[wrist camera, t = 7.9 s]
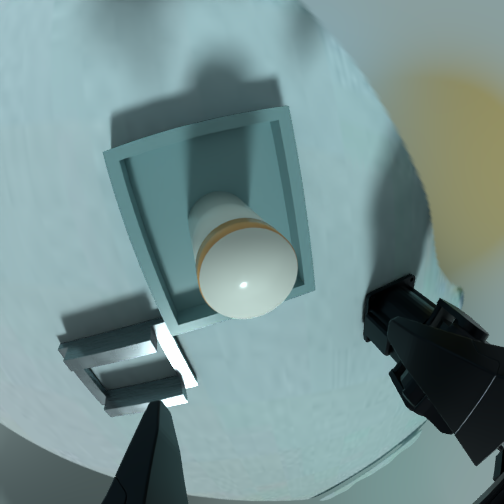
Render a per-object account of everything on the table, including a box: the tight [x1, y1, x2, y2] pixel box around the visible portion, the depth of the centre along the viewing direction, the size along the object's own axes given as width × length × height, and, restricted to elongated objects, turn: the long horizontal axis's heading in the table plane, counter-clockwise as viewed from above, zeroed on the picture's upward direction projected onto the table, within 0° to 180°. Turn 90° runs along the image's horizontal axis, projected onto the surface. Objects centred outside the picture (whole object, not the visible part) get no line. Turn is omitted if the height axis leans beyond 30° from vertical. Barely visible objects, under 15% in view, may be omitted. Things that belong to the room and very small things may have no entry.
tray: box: [103, 106, 315, 336], centre depth 18 cm, size 11×13×2 cm
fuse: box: [188, 191, 298, 319], centre depth 15 cm, size 4×4×8 cm
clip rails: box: [58, 317, 198, 417], centre depth 20 cm, size 10×8×2 cm
